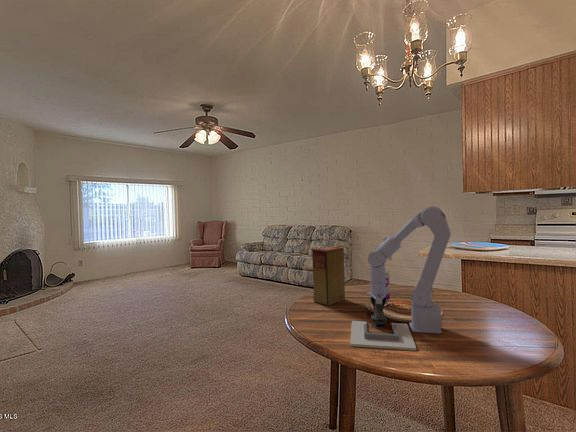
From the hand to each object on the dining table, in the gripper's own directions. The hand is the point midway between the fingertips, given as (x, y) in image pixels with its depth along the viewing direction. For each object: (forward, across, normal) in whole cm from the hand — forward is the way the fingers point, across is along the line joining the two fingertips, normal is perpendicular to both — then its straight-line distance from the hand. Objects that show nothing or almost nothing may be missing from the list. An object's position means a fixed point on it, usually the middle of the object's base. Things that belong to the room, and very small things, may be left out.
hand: (378, 316), depth 121 cm
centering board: (+2, +13, 0) cm, 13 cm away
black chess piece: (+2, +5, 0) cm, 5 cm away
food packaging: (+2, -23, -21) cm, 31 cm away
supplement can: (+2, -21, +2) cm, 21 cm away
